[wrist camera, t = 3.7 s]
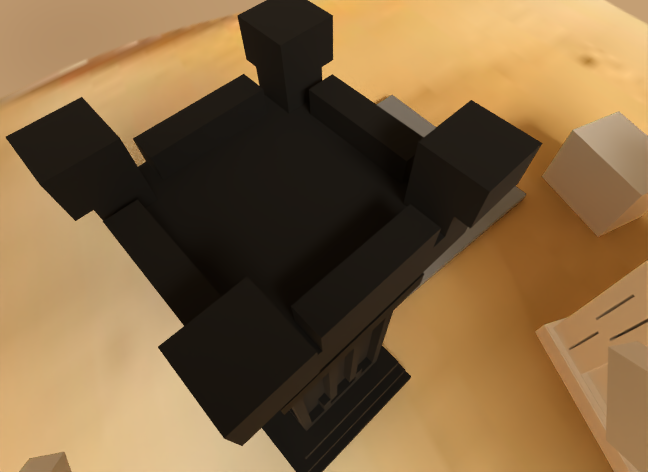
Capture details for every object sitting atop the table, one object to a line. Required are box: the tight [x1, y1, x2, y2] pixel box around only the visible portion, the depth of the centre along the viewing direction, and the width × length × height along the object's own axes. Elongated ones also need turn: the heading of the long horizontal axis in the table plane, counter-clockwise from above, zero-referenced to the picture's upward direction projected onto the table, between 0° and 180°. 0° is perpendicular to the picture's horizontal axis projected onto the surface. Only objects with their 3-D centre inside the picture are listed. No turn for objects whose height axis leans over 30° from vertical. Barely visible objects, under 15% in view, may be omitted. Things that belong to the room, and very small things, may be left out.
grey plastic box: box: [542, 112, 648, 237], centre depth 29 cm, size 6×4×5 cm, turn 25°
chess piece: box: [6, 0, 542, 472], centre depth 17 cm, size 8×8×20 cm
